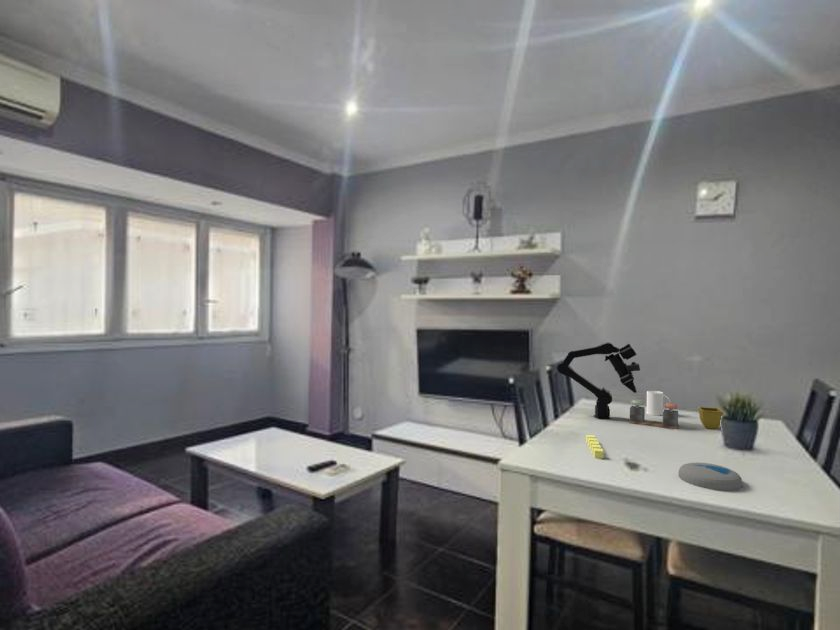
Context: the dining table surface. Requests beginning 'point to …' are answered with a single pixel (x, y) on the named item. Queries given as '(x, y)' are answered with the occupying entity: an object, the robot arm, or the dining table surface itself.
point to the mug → (655, 403)
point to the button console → (668, 421)
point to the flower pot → (710, 417)
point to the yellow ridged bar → (594, 446)
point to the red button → (670, 406)
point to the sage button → (637, 402)
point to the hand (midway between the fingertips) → (635, 391)
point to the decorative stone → (710, 476)
